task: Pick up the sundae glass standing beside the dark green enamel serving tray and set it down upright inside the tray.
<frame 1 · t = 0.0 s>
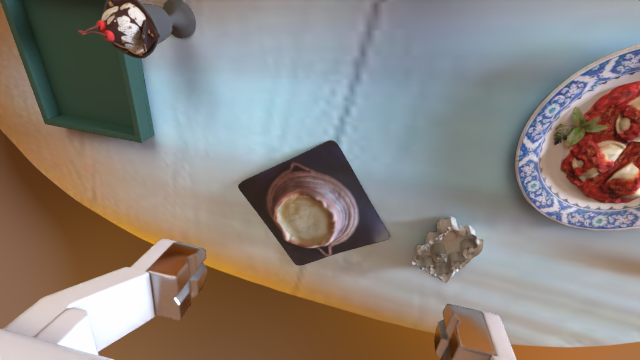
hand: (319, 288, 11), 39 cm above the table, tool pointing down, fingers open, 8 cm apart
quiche: (314, 209, 59), on the table
serving tray: (90, 61, 52), on the table
ceramic plate: (620, 141, 43), on the table
sundae: (179, 18, 46), on the table
egg carton: (444, 241, 57), on the table
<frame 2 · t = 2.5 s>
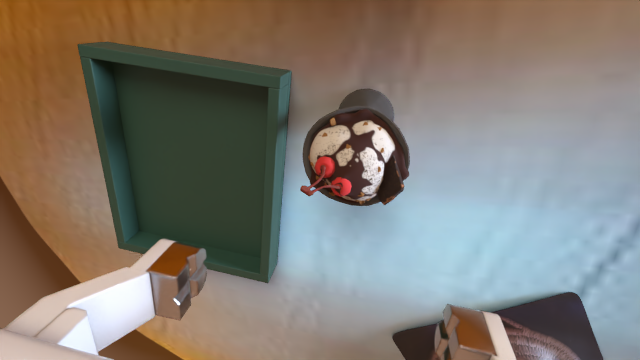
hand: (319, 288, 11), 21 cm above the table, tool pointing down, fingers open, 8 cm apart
serving tray: (201, 165, 35), on the table
sundae: (365, 116, 30), on the table
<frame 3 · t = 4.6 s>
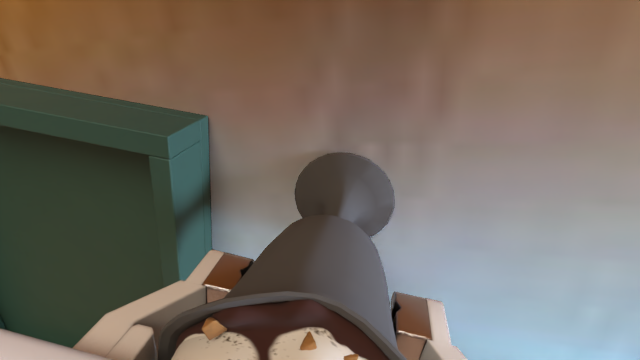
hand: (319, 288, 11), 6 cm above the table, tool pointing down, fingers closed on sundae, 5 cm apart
serving tray: (84, 254, 22), on the table
sundae: (343, 197, 17), on the table, touching gripper
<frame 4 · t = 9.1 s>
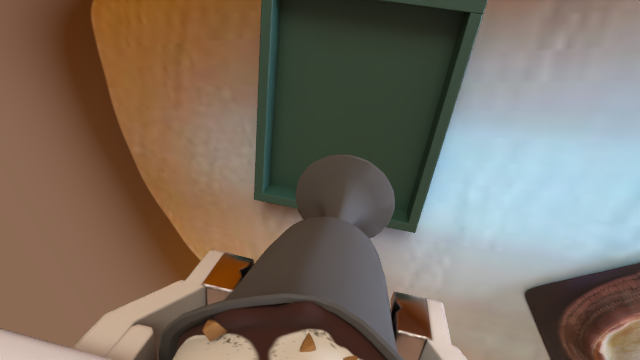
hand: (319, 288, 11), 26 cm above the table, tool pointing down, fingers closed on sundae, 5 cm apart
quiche: (639, 328, 39), on the table
serving tray: (352, 110, 34), on the table
sundae: (343, 198, 17), point 19 cm above the table, touching gripper
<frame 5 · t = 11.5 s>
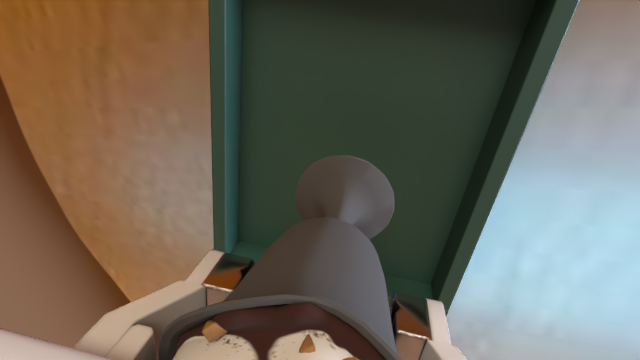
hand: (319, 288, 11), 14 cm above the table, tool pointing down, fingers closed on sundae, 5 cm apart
serving tray: (353, 144, 23), on the table
sundae: (343, 199, 17), point 8 cm above the table, touching gripper
when the fingers open (7 cm above the table, at t = 13.6 s): sundae stays where it is, resting on serving tray.
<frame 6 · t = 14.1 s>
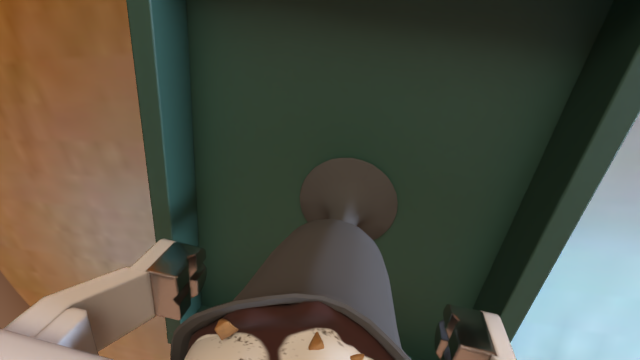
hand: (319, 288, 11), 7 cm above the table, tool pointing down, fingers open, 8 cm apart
serving tray: (344, 192, 18), on the table
sundae: (347, 201, 17), point 1 cm above the table, touching serving tray
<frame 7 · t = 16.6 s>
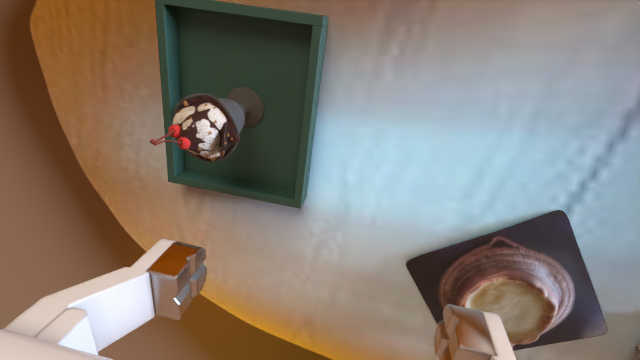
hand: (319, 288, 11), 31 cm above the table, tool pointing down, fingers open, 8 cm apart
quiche: (504, 294, 46), on the table
serving tray: (245, 105, 41), on the table
sundae: (244, 107, 41), point 1 cm above the table, touching serving tray
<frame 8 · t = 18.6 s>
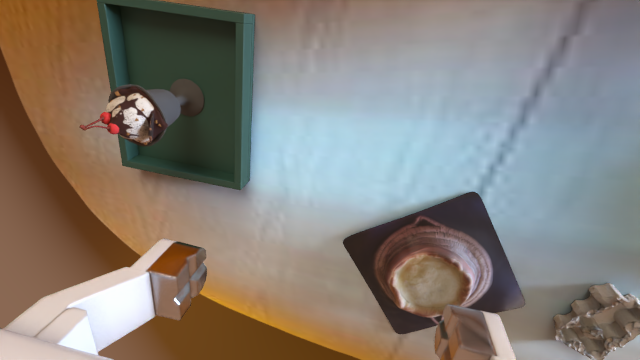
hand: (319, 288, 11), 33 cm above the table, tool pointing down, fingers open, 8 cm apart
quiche: (432, 270, 50), on the table
serving tray: (188, 95, 45), on the table
sundae: (187, 97, 44), point 1 cm above the table, touching serving tray
egg carton: (592, 311, 48), on the table
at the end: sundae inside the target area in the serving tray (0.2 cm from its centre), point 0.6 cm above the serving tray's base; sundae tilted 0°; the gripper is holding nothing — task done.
